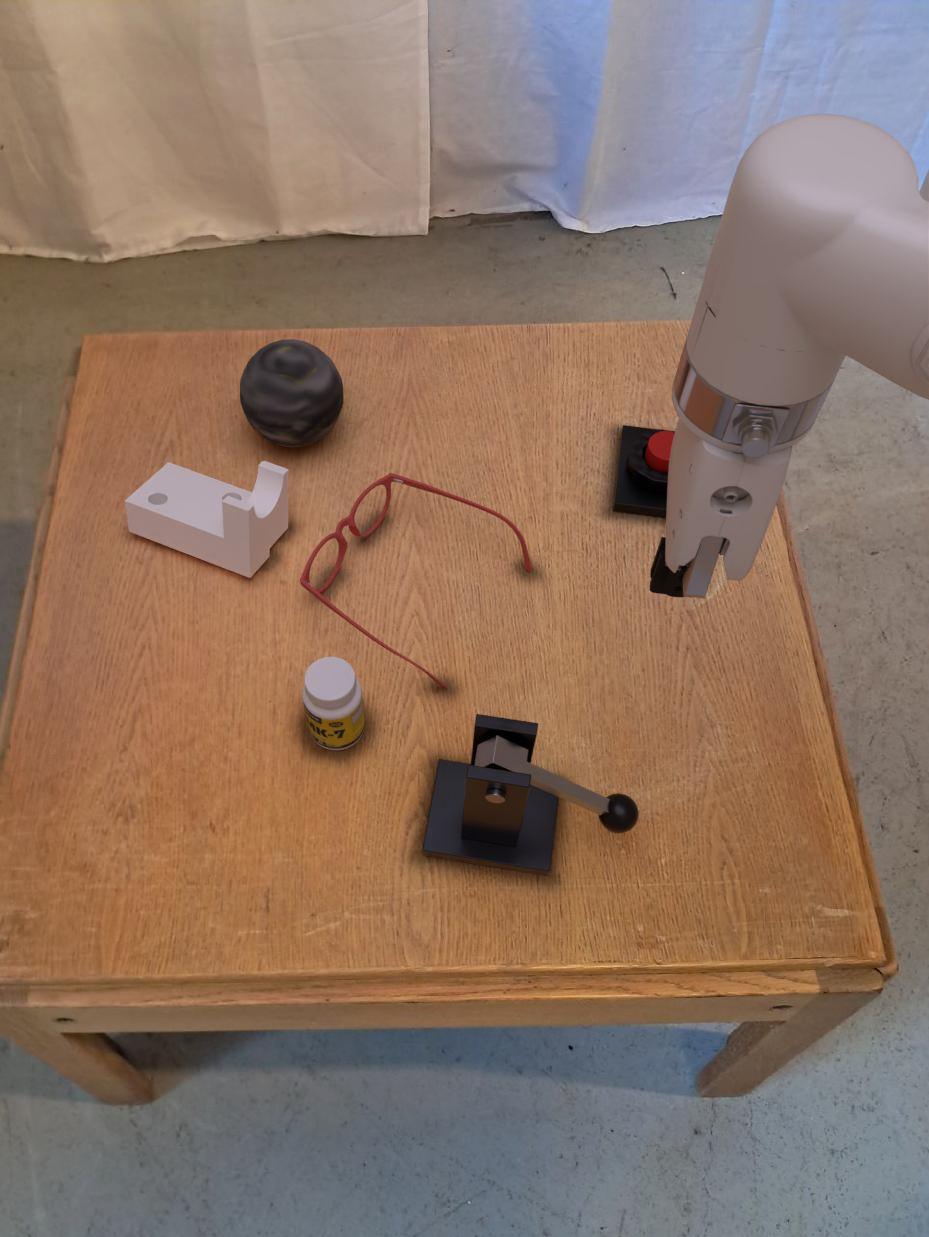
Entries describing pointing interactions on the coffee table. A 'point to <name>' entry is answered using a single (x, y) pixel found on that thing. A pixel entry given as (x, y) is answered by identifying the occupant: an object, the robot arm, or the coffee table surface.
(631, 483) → the control block
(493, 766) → the lever
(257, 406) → the decorative stone
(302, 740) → the coffee table surface
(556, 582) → the coffee table surface
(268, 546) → the bracket
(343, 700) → the supplement bottle
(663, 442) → the button
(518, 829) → the bracket
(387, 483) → the red eyeglasses
